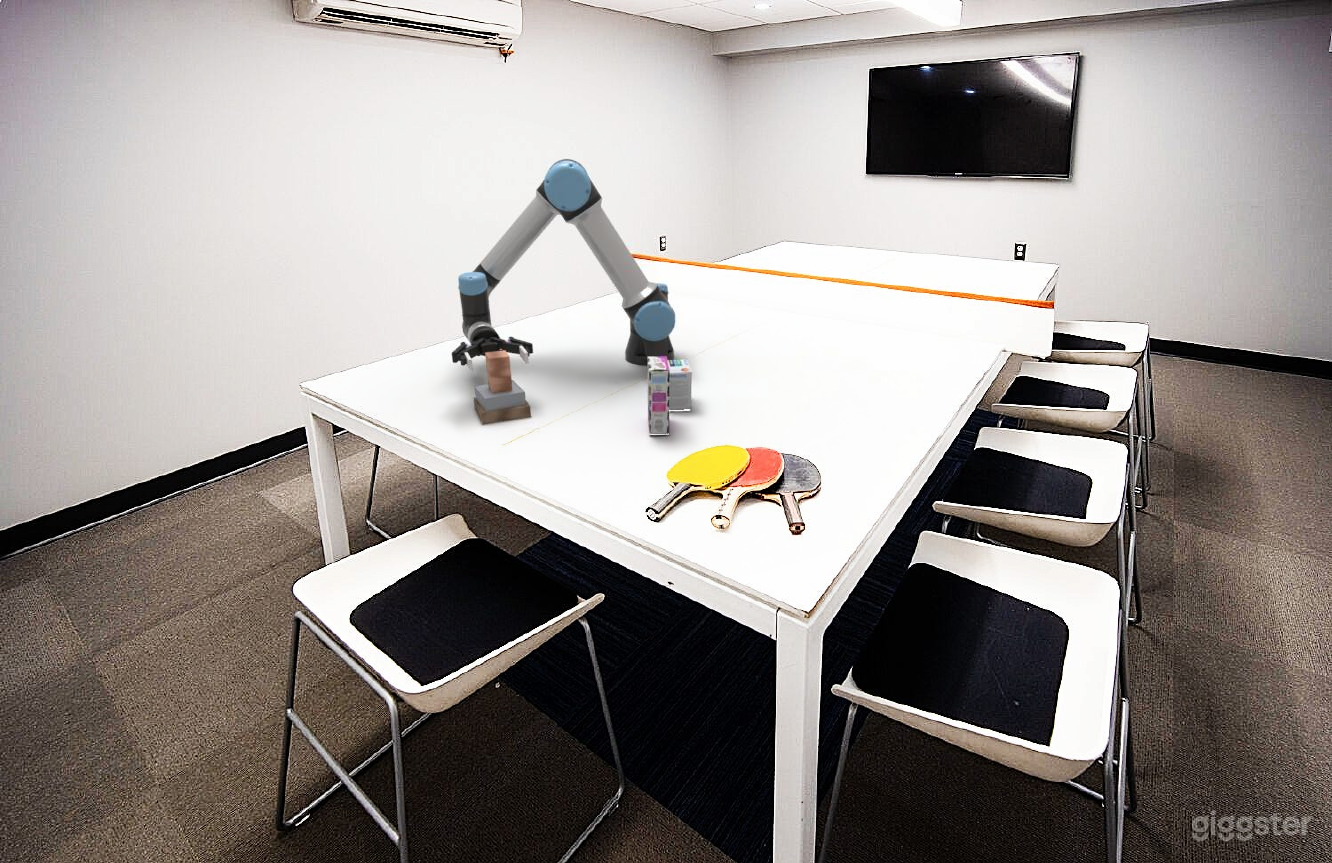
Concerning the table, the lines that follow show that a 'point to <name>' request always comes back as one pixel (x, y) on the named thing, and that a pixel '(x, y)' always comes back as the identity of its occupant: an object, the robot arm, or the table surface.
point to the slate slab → (500, 397)
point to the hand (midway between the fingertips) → (499, 361)
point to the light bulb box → (680, 384)
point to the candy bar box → (658, 394)
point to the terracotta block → (498, 371)
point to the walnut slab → (502, 413)
